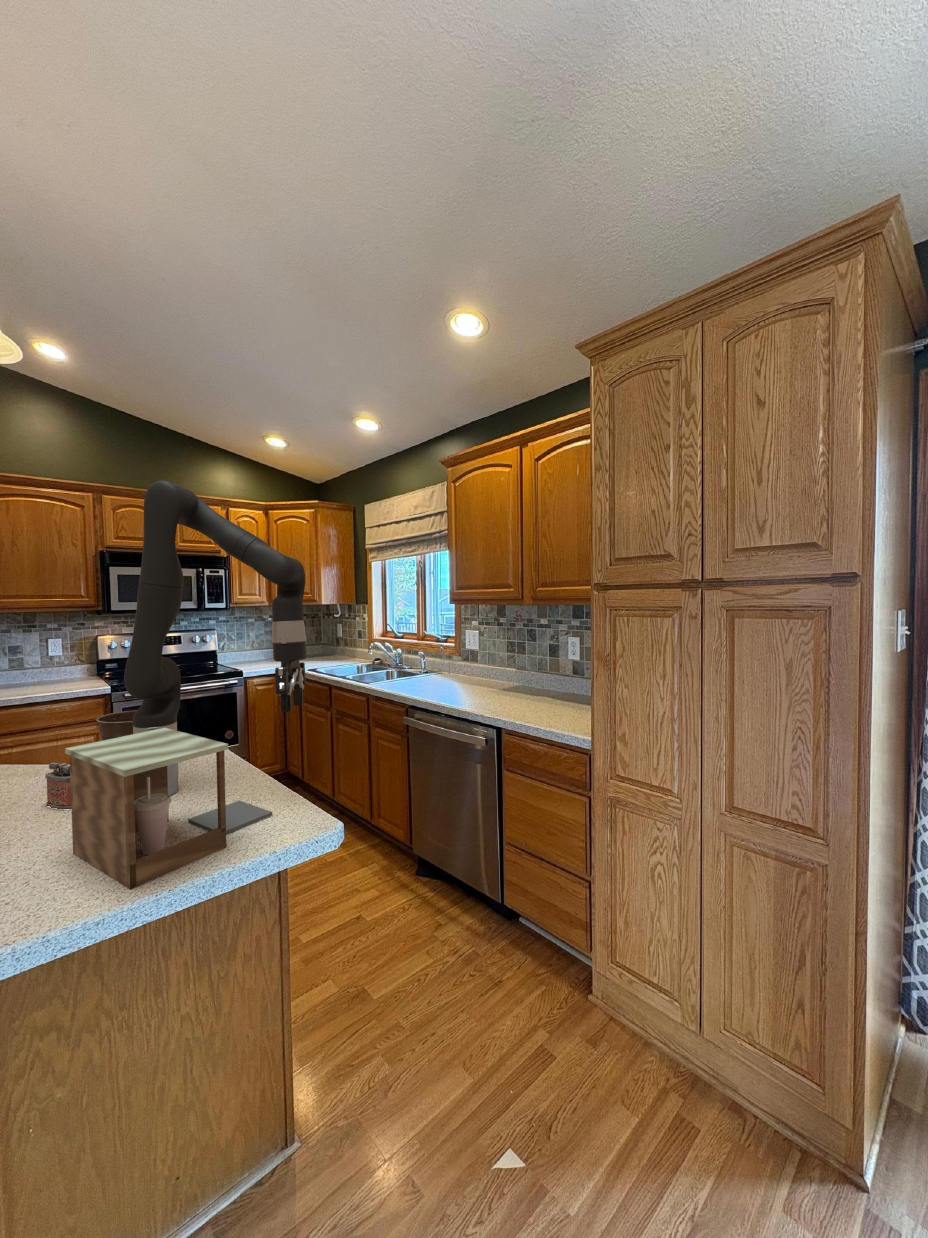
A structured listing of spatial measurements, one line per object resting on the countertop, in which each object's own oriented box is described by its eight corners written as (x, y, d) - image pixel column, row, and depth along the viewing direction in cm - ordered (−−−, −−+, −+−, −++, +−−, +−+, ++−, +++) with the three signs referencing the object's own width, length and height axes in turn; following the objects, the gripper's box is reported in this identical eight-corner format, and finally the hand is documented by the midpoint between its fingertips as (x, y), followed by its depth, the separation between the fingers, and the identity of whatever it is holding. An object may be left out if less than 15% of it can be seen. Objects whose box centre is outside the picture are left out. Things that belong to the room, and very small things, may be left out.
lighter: (82, 806, 119) (80, 763, 119) (66, 811, 116) (65, 767, 115) (58, 801, 122) (56, 759, 121) (42, 807, 118) (40, 764, 118)
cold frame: (68, 854, 97) (65, 748, 96) (167, 819, 112) (165, 727, 111) (128, 892, 84) (124, 770, 83) (230, 847, 99) (228, 744, 98)
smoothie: (144, 842, 101) (142, 771, 101) (178, 841, 102) (176, 770, 101) (126, 858, 95) (123, 783, 94) (162, 857, 95) (160, 782, 95)
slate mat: (188, 822, 110) (188, 819, 110) (239, 803, 120) (239, 800, 120) (221, 836, 103) (220, 833, 103) (272, 815, 113) (272, 812, 113)
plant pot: (145, 761, 152) (144, 706, 151) (181, 769, 145) (180, 712, 144) (84, 778, 137) (82, 718, 136) (121, 788, 130) (119, 724, 129)
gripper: (284, 640, 130) (287, 704, 130) (261, 642, 116) (265, 714, 116) (313, 638, 130) (317, 702, 130) (295, 640, 116) (298, 713, 116)
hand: (292, 708), depth 123 cm, fingers open, 8 cm apart
